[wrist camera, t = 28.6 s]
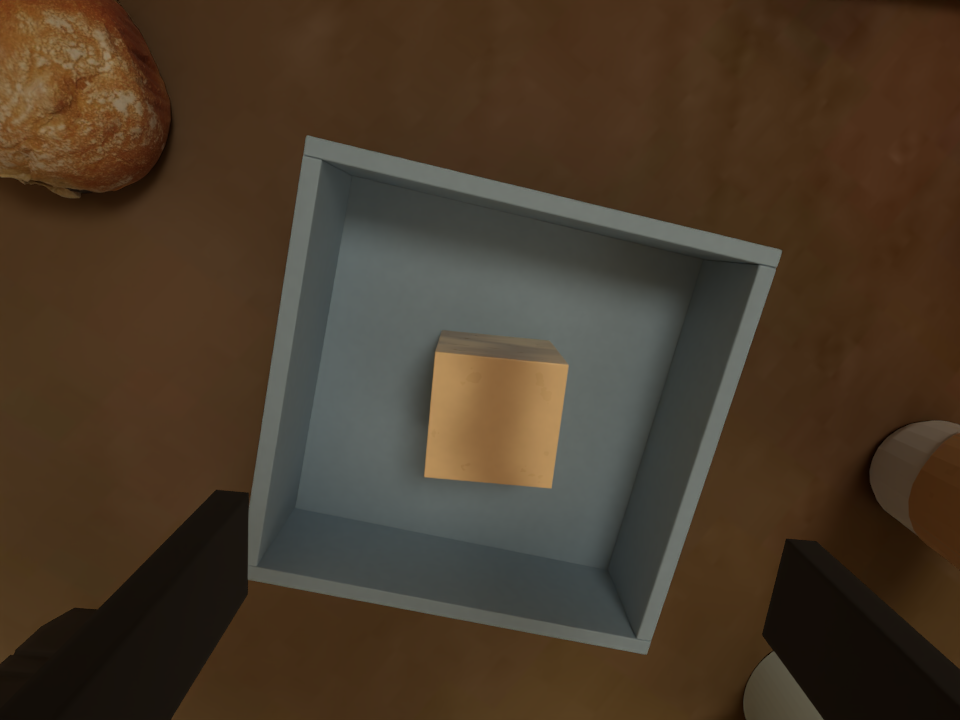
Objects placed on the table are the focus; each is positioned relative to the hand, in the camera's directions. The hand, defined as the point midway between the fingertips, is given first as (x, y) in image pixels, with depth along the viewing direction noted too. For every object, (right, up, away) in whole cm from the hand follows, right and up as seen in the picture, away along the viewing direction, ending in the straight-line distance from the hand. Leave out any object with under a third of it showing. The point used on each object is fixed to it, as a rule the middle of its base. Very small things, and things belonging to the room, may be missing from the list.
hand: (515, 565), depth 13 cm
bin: (0, +3, +18) cm, 18 cm away
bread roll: (-21, +19, +15) cm, 32 cm away
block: (0, +3, +18) cm, 18 cm away
